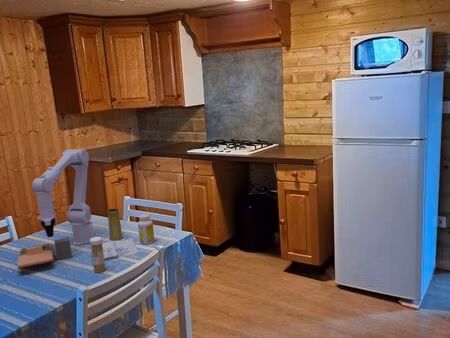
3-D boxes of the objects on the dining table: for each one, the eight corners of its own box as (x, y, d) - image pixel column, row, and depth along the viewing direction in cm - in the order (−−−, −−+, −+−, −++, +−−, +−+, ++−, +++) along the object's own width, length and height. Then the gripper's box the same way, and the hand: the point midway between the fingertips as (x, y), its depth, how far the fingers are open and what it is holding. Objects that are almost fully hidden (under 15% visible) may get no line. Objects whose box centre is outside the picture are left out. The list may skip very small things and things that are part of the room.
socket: (53, 245, 198) (52, 239, 197) (54, 261, 180) (53, 253, 179) (20, 252, 193) (19, 245, 192) (18, 268, 175) (17, 261, 174)
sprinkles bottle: (91, 271, 168) (87, 239, 165) (101, 267, 171) (97, 235, 169) (98, 274, 165) (93, 241, 162) (108, 269, 168) (104, 237, 166)
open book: (90, 248, 194) (90, 243, 193) (135, 240, 200) (134, 236, 200) (92, 264, 176) (91, 259, 176) (141, 255, 182) (140, 250, 182)
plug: (71, 254, 186) (68, 237, 185) (72, 257, 183) (69, 240, 181) (56, 257, 184) (54, 240, 182) (57, 260, 181) (54, 243, 179)
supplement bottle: (156, 239, 198) (153, 213, 196) (152, 244, 192) (149, 217, 189) (142, 239, 199) (139, 213, 196) (138, 245, 193) (135, 218, 190)
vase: (125, 236, 204) (121, 208, 201) (118, 241, 199) (114, 212, 196) (114, 235, 206) (110, 207, 203) (107, 240, 201) (103, 211, 198)
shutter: (52, 251, 181) (50, 243, 181) (53, 260, 172) (51, 252, 171) (18, 257, 176) (17, 249, 176) (17, 267, 167) (16, 259, 166)
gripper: (35, 203, 183) (40, 233, 185) (35, 212, 169) (40, 244, 172) (53, 200, 185) (57, 229, 188) (53, 209, 172) (58, 240, 175)
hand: (50, 236), depth 180 cm, fingers closed
